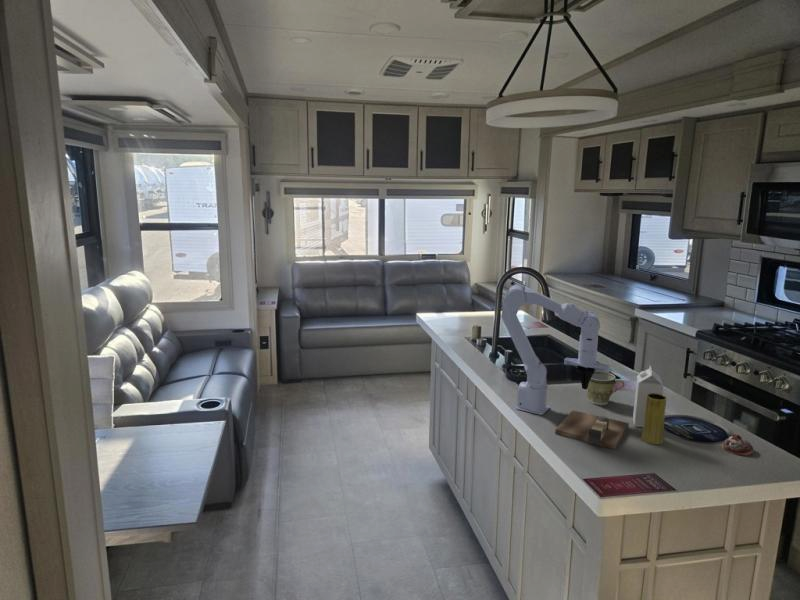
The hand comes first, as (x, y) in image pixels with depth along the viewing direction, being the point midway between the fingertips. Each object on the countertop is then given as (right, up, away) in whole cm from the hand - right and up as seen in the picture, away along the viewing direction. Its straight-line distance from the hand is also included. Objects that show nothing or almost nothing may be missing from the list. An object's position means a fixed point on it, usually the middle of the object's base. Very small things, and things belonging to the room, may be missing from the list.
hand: (584, 388), depth 183 cm
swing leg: (-1, -11, -16) cm, 20 cm away
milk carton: (+18, -11, -5) cm, 22 cm away
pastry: (+37, -15, -22) cm, 46 cm away
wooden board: (-1, -12, -10) cm, 16 cm away
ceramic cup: (+10, -7, +12) cm, 17 cm away
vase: (+15, -13, -16) cm, 26 cm away
